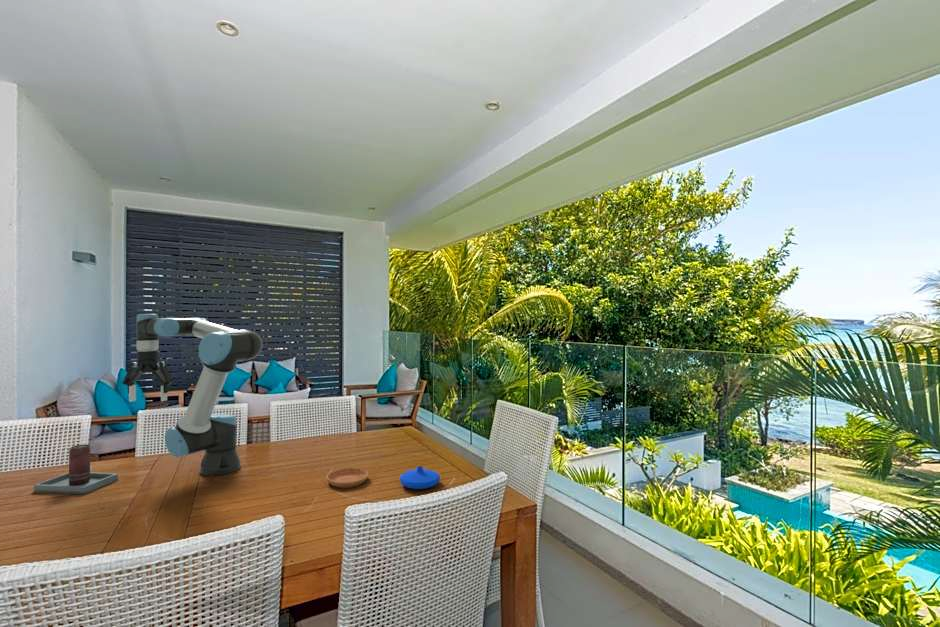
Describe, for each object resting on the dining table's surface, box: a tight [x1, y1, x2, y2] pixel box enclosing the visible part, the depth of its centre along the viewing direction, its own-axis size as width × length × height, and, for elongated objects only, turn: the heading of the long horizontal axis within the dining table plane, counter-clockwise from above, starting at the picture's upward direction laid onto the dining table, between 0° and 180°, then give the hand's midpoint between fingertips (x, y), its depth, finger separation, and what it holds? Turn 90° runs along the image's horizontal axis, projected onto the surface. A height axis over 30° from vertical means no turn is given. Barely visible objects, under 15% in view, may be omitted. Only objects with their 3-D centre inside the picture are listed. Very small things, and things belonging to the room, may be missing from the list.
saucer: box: [326, 467, 369, 489], centre depth 176 cm, size 16×16×3 cm
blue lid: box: [399, 465, 441, 490], centre depth 173 cm, size 16×16×7 cm
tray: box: [33, 471, 119, 495], centre depth 169 cm, size 20×14×2 cm
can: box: [68, 444, 91, 486], centre depth 170 cm, size 6×6×14 cm
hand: (148, 401), depth 187 cm, fingers open, 13 cm apart
